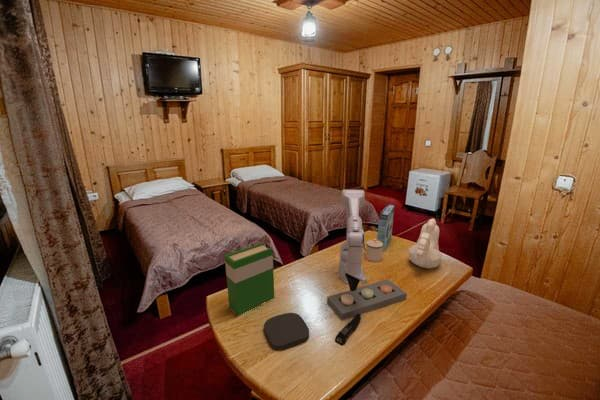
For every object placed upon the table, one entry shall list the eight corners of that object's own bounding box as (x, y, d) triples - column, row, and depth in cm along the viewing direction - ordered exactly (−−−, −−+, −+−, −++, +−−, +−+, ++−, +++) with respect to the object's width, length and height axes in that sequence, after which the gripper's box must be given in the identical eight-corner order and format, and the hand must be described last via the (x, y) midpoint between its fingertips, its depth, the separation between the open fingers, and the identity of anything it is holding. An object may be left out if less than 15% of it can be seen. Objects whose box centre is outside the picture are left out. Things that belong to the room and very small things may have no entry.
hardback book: (265, 290, 129) (262, 242, 122) (274, 298, 124) (272, 248, 117) (229, 307, 118) (224, 255, 111) (238, 316, 113) (233, 262, 106)
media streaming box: (273, 354, 95) (273, 347, 94) (261, 326, 108) (261, 319, 107) (312, 340, 101) (313, 333, 100) (296, 315, 113) (296, 309, 113)
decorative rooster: (417, 253, 162) (422, 212, 155) (445, 263, 151) (452, 219, 144) (394, 269, 146) (398, 224, 139) (424, 281, 135) (431, 233, 128)
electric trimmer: (363, 322, 109) (363, 315, 109) (343, 346, 98) (343, 339, 97) (354, 318, 112) (354, 311, 111) (333, 341, 100) (334, 334, 99)
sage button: (358, 294, 122) (359, 290, 121) (368, 292, 124) (368, 287, 123) (365, 301, 118) (366, 296, 117) (375, 298, 119) (376, 293, 119)
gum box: (383, 238, 183) (386, 204, 177) (391, 239, 181) (395, 205, 174) (376, 250, 167) (378, 213, 160) (384, 252, 164) (387, 214, 158)
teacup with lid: (385, 258, 157) (387, 239, 154) (376, 264, 151) (377, 244, 148) (367, 251, 166) (368, 232, 162) (357, 256, 160) (358, 237, 156)
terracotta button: (377, 290, 126) (377, 286, 125) (386, 288, 128) (386, 283, 127) (385, 297, 122) (385, 292, 121) (394, 294, 124) (394, 289, 123)
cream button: (338, 300, 118) (338, 296, 117) (348, 297, 120) (349, 293, 119) (345, 308, 114) (345, 302, 113) (355, 304, 116) (355, 299, 115)
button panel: (327, 302, 120) (327, 296, 120) (387, 284, 133) (387, 279, 132) (342, 320, 110) (342, 313, 109) (406, 299, 122) (406, 293, 121)
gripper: (374, 266, 108) (372, 297, 111) (352, 250, 120) (351, 279, 124) (358, 270, 105) (356, 302, 109) (338, 254, 118) (337, 282, 121)
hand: (353, 290), depth 116 cm, fingers closed
